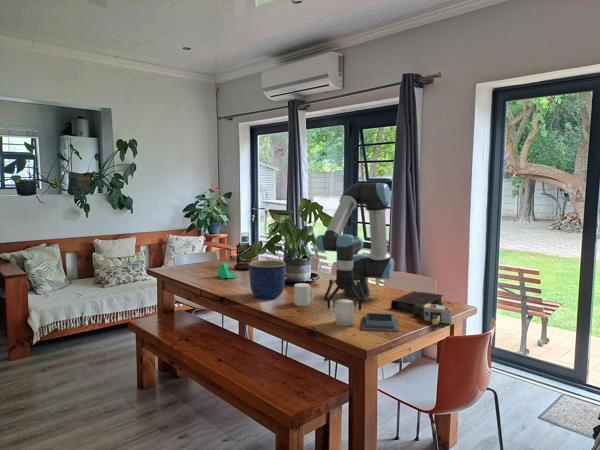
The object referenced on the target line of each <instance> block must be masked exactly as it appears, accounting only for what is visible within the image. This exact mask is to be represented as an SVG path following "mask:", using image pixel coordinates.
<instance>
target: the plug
mask: <svg viewBox="0 0 600 450" xmlns="http://www.w3.org/2000/svg"><path fill="white" fill-rule="evenodd" d="M335 324H336V325H338V326H341V327H348V326H352V325H354V301H353V300H351V299H343V298H342V299H341V298H340V299H337V300H335Z"/></svg>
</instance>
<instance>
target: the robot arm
mask: <svg viewBox="0 0 600 450" xmlns="http://www.w3.org/2000/svg"><path fill="white" fill-rule="evenodd" d="M338 201H339V204H338V206H337V209H336V210H335V212H334V215H333V216H332V218H331V220H330V222H329V224H328V226H327V227H326V230H325V232H324V233H323V234H318V235H317V236H316V238H315V247H316V249H317V250H319V251H324V252H336V266H335V267H336V271H335V272H336V275H335V276H336V278H335V279H331V278H330V279H329V282H328V287H327V290H326V291H325V294H324V297H323V301H325V302H327V309H329V317H333V298H334V296H335V295H336V294H337V293H338V291H339V290H342V291H343V296H345V297H348V298H355V299H356V301H357V302H356V318H357V319H358V318H359V316H360V315H359V314H360V313H359V312H360V311H361V310H362V304H363V303H366V297H369V296H370V295H371V294H370V293H371V290H370V287H369V283H368V279H375V280H376V279H378V280H389V279H391V278H392V276H393V273H394V269H395V260H394V258H392V257H391V254H390V253H389V252H388V243H387V241H388V240H387V239H388V238H387V224H386V223H387V222H386V220H387V219H386V210H388V208H389V207H388V206H391V203H392V192H391V189H390V187H389V185H388V184H387V183H383V182H358V183H355V184H353V185H351V186H349V187H348V188H346V190H344V192H343V193H342V194H341V196H340V198H339V200H338ZM360 205H361V206H365V210H366V211H367V212H368V218H369V235H370V248H371V249H370V250H371V253H370V254H369V255H368V254H367V253H358V252H360V251H361V250H362V249H363V247H364V241H363V239H362V238H361V237H360V236H359V235H355V236H354V235H352V234H347V233H346V234H342V233H343V231H344V228H345V227H346V224H347V223H348V220H349V218H350V216H351V215H352V212H353V210H355V209H356V208H357V206H360ZM334 284H336V287H335V289H334V290H333V292H332V293H331V295H330V296H329V294H330V292H331V289H332V286H333V285H334ZM328 296H329V297H328Z"/></svg>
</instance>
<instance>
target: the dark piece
mask: <svg viewBox="0 0 600 450" xmlns="http://www.w3.org/2000/svg"><path fill="white" fill-rule="evenodd" d="M249 247H251V248H252V245H251V244H250V242H247V244H241V242H238V244H236V252H235V253H236V264H235V265H233V268H234V269H235V270H236V271H238V270H249V263H251V262H252V258H251V259H250V260H242V259H240V258H239V255H240V254H241V253H242V252H244V251H245V250H247V249H248V248H249Z"/></svg>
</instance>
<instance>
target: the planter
mask: <svg viewBox="0 0 600 450" xmlns="http://www.w3.org/2000/svg"><path fill="white" fill-rule="evenodd" d="M248 263H249V262H248ZM286 265H287V263H286V262H285V261H281V260H270V259H265V260H264V259H263V260H254V261H251V263H249V271H248V275H249V276H248V277H249V285H250V290H251V293H252V294H253V295H254V297H256V298H258V299H262V300H272V299H276V298H278V297H280V296H281V295H282V293H283V291H284V289H285V279H286Z"/></svg>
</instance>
